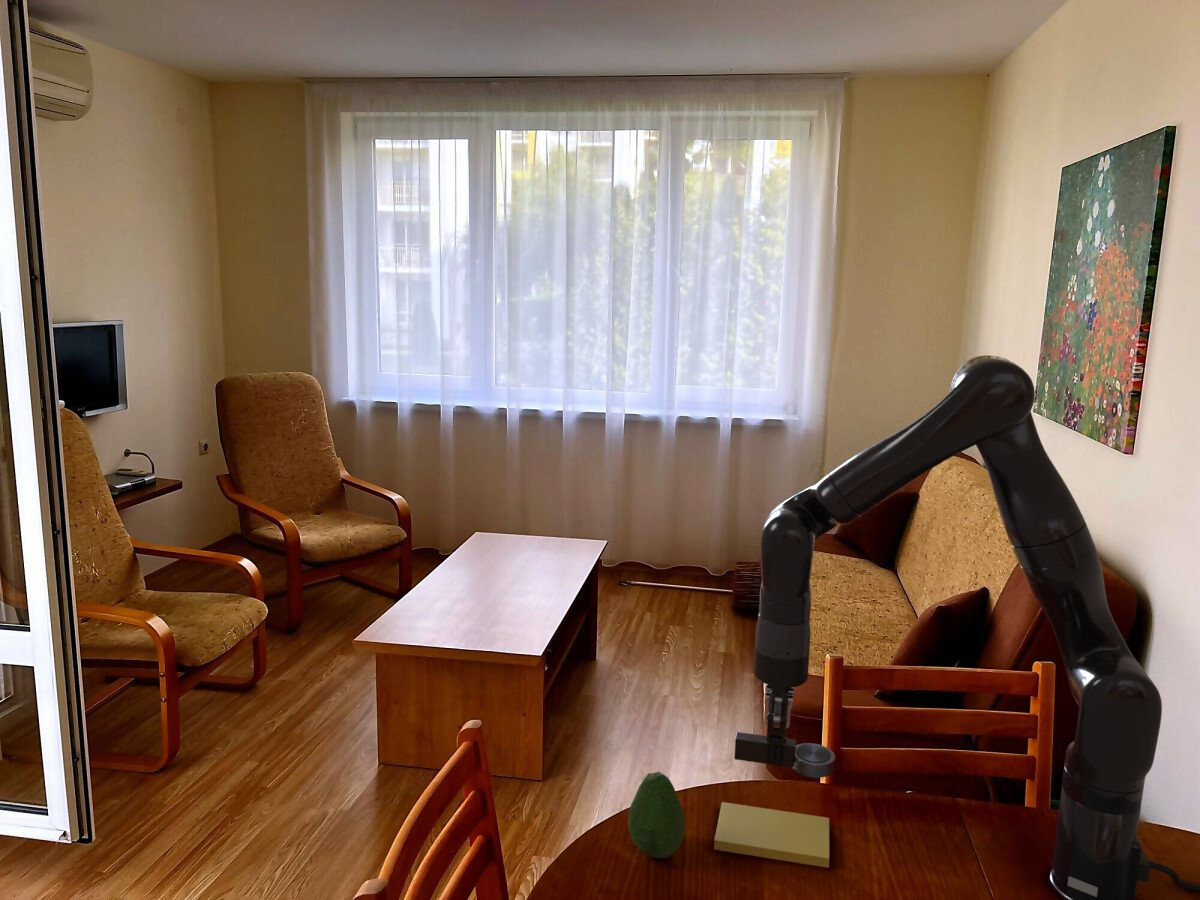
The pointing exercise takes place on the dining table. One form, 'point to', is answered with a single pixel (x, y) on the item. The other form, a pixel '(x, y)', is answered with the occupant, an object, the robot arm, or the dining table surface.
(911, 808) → the dining table surface
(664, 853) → the avocado
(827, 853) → the board
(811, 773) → the frying pan
